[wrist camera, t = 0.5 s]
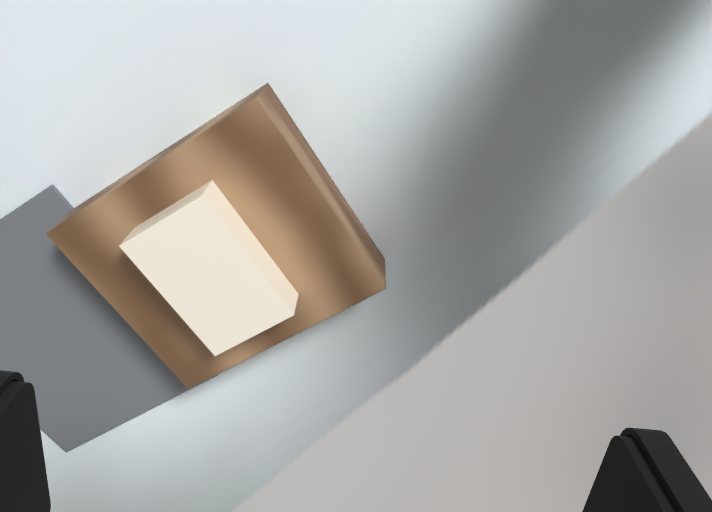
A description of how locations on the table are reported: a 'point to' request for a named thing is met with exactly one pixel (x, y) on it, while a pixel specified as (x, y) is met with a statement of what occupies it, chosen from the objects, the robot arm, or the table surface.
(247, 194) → the brown flat block
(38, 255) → the mat
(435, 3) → the table surface
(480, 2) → the table surface
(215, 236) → the cream rectangular block
